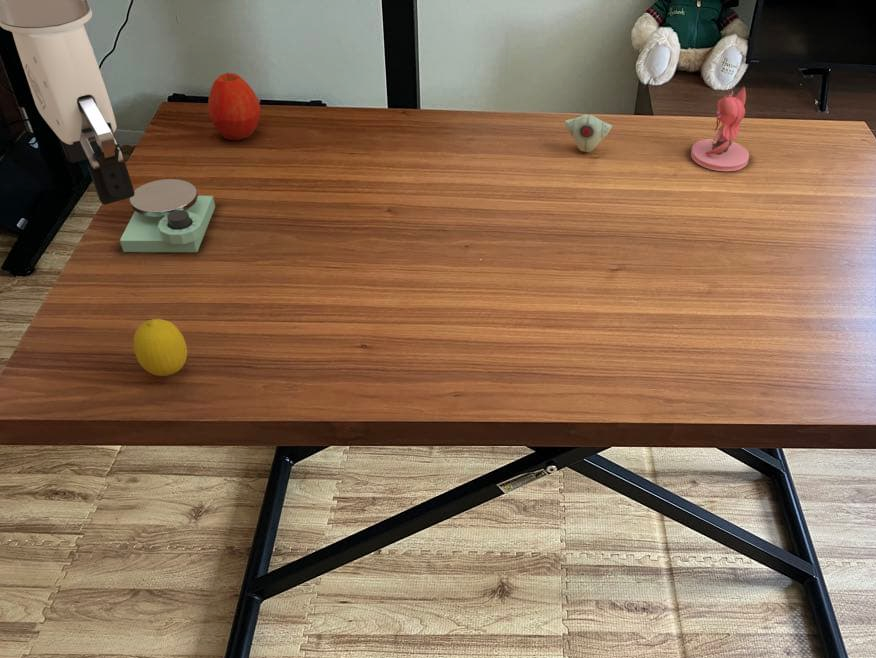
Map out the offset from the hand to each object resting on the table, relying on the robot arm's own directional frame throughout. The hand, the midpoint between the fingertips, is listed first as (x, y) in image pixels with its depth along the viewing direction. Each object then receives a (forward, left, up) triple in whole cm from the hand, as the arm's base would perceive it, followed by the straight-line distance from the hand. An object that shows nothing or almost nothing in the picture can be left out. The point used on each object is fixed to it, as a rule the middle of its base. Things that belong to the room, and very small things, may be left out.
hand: (101, 178), depth 87 cm
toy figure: (+95, -2, -25) cm, 98 cm away
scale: (+12, +28, -25) cm, 39 cm away
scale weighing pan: (+12, +30, -21) cm, 39 cm away
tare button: (+12, +23, -22) cm, 34 cm away
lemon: (0, -2, -25) cm, 25 cm away
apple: (+32, +49, -25) cm, 63 cm away
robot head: (+77, +12, -25) cm, 82 cm away
